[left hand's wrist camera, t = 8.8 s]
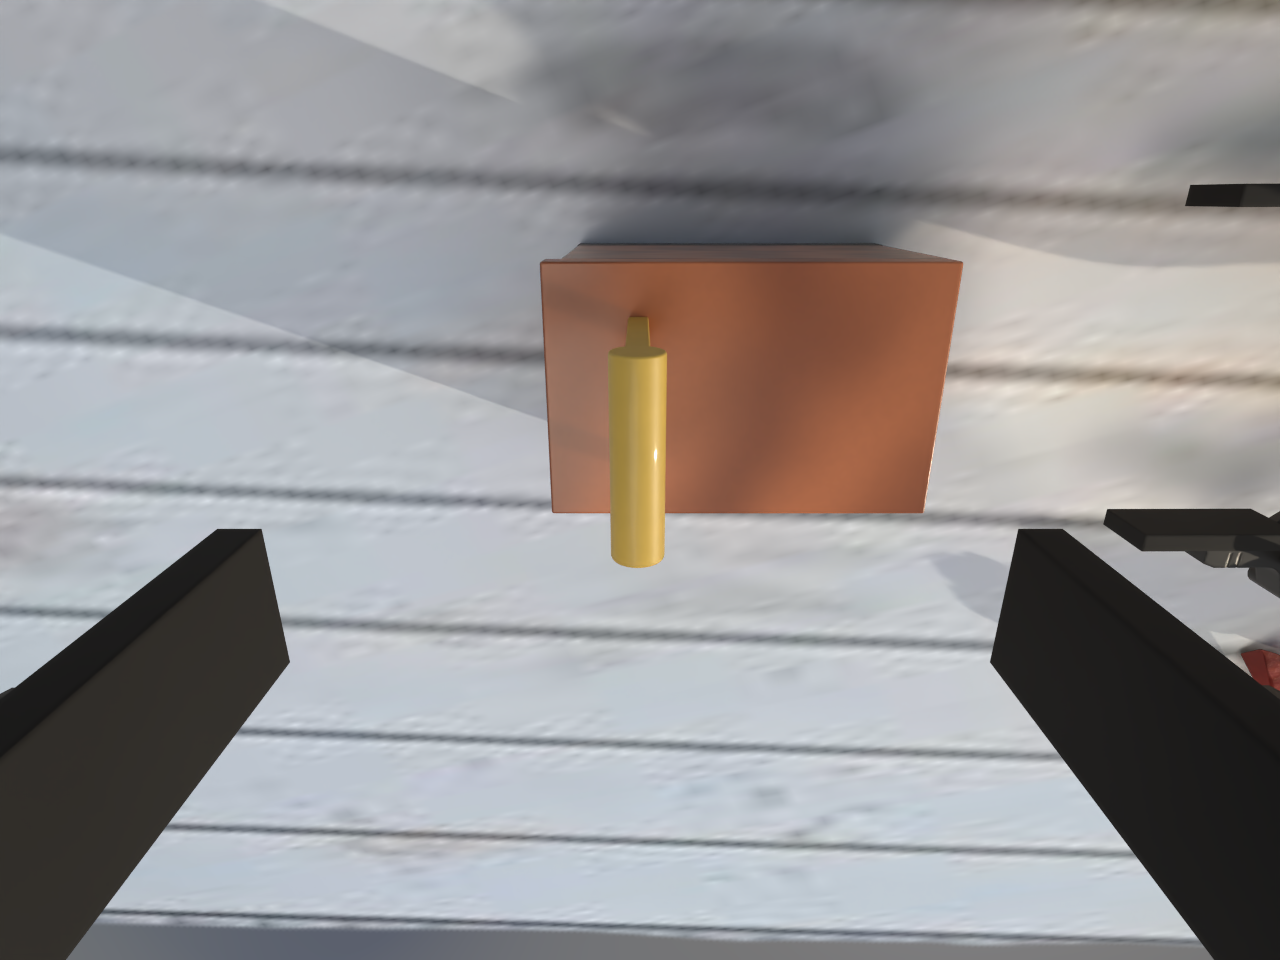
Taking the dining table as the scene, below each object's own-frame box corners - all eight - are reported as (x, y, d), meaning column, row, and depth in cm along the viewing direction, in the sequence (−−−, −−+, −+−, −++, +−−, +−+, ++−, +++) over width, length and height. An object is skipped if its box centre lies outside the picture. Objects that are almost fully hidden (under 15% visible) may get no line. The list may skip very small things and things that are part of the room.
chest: (585, 434, 37) (569, 501, 28) (579, 243, 33) (559, 258, 25) (853, 434, 37) (913, 501, 28) (874, 243, 33) (950, 258, 25)
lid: (555, 501, 28) (521, 620, 20) (543, 259, 25) (498, 287, 17) (914, 502, 28) (1020, 620, 20) (950, 259, 25) (1095, 287, 17)
